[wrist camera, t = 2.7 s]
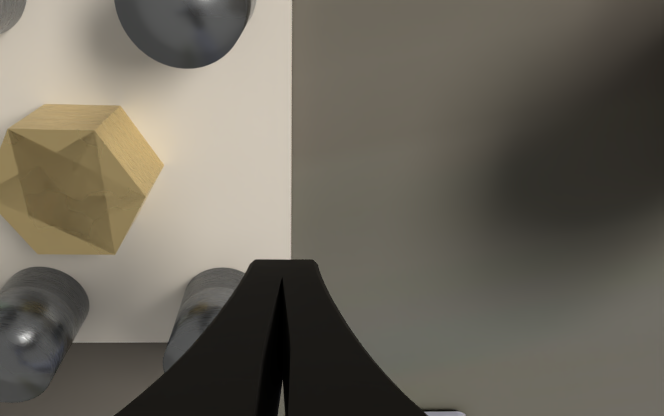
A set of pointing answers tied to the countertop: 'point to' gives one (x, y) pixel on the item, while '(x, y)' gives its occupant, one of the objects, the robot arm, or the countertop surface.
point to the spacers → (63, 290)
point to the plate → (163, 155)
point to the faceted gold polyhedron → (75, 178)
